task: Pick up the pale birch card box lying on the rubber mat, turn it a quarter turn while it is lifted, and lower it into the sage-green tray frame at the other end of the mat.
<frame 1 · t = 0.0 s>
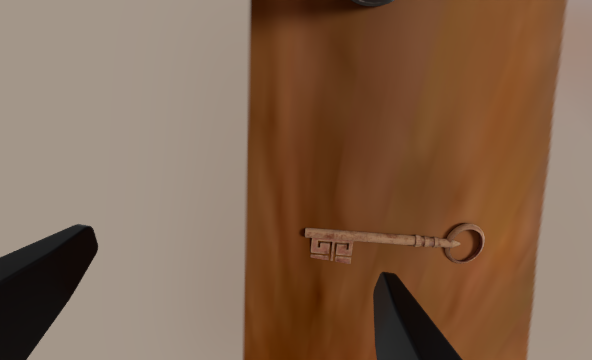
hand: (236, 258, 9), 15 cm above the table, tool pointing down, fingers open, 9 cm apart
key: (389, 244, 27), on the table
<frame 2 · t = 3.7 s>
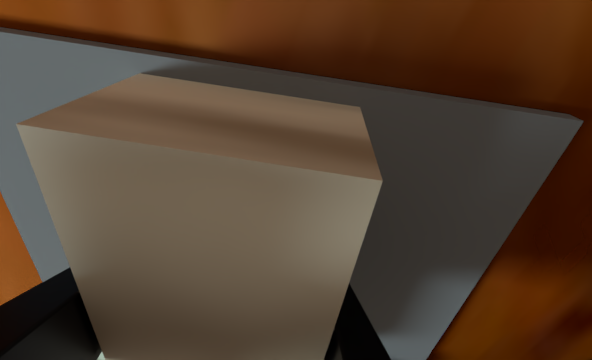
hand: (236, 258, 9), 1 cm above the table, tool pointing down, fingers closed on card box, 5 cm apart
card box: (242, 240, 10), resting on mat, touching gripper
mat: (240, 324, 13), on the table
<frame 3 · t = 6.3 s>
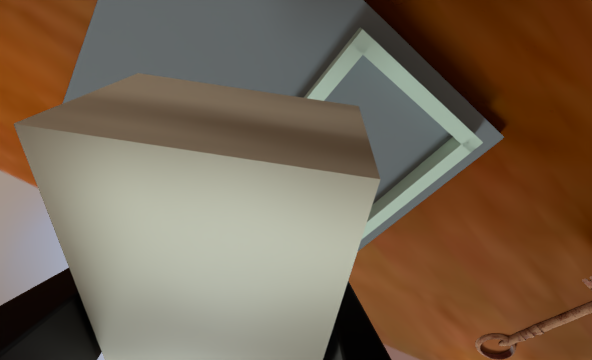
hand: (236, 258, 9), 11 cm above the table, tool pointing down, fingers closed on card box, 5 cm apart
tray frame: (335, 170, 20), resting on mat
card box: (241, 239, 10), point 10 cm above the table, touching gripper
key: (549, 307, 26), on the table
mat: (274, 121, 19), on the table
when the fingers open (2 cm above the table, at t = 9.0 s): card box stays where it is, resting on mat.
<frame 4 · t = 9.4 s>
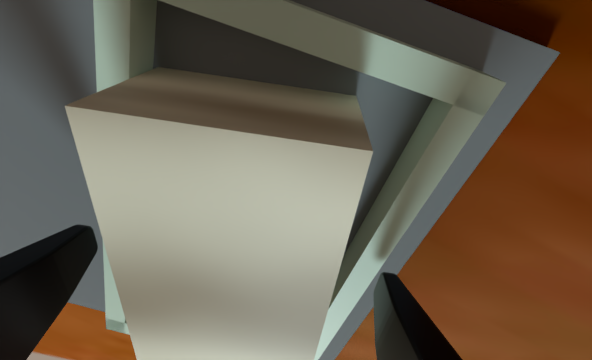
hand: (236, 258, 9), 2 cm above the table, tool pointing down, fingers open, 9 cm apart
tray frame: (249, 222, 11), resting on mat
card box: (249, 222, 11), resting on mat
mat: (118, 173, 11), on the table
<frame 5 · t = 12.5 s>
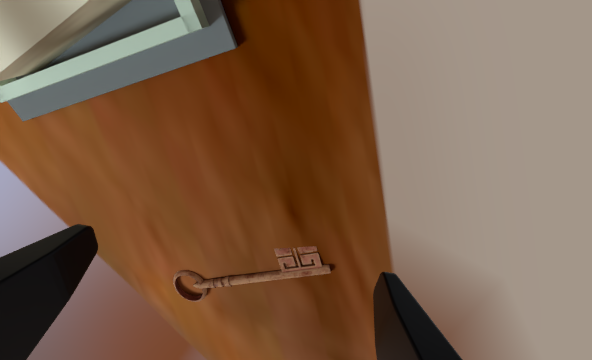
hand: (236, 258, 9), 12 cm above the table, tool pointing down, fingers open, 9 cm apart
key: (246, 265, 28), on the table
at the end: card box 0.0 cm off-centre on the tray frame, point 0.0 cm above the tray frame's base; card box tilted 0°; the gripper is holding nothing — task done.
